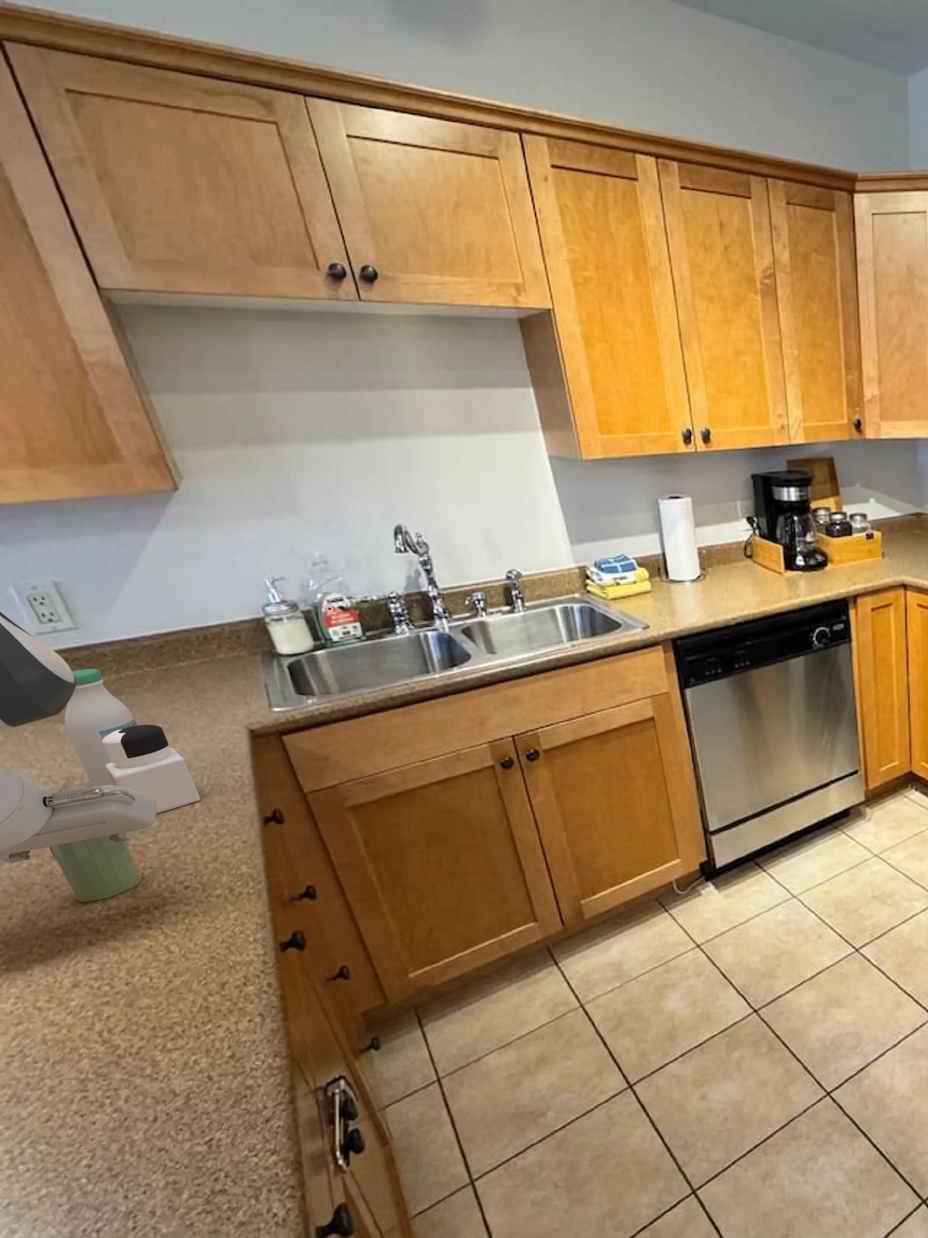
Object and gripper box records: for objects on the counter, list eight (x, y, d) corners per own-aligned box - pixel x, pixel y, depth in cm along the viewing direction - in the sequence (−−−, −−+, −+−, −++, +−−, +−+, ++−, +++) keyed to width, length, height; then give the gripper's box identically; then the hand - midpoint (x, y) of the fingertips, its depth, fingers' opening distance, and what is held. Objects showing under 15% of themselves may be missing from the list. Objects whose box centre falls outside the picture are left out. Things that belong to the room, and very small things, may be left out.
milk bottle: (101, 798, 120) (47, 683, 113) (89, 786, 124) (37, 675, 117) (165, 779, 126) (117, 669, 119) (152, 769, 130) (105, 662, 123)
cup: (71, 907, 91) (35, 838, 88) (82, 886, 96) (48, 819, 92) (138, 889, 95) (106, 821, 91) (146, 869, 99) (115, 804, 96)
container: (189, 788, 122) (159, 716, 118) (201, 800, 118) (170, 726, 113) (124, 807, 116) (89, 732, 112) (134, 821, 112) (99, 743, 108)
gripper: (118, 762, 84) (185, 801, 96) (-147, 804, 76) (-38, 842, 88) (114, 813, 82) (184, 847, 94) (-158, 862, 74) (-45, 892, 85)
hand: (75, 845), depth 91 cm, fingers open, 8 cm apart
